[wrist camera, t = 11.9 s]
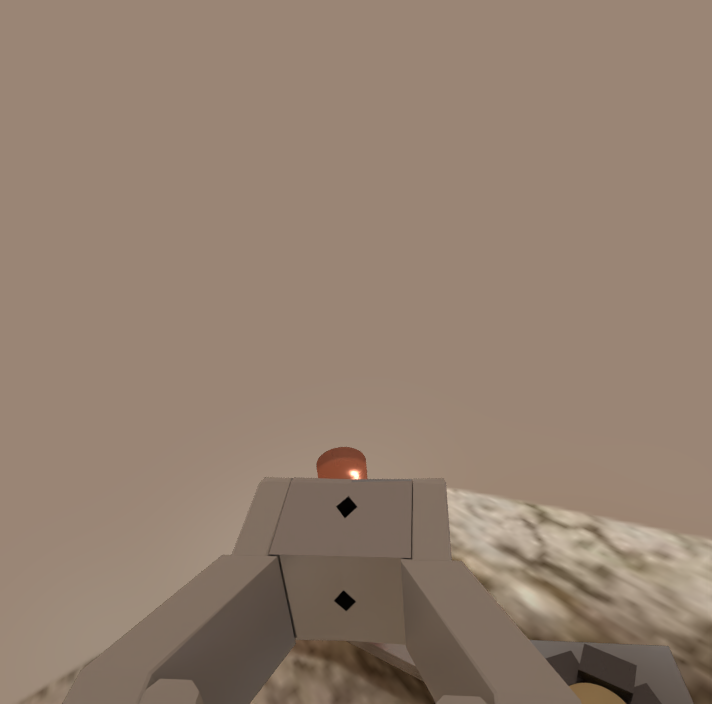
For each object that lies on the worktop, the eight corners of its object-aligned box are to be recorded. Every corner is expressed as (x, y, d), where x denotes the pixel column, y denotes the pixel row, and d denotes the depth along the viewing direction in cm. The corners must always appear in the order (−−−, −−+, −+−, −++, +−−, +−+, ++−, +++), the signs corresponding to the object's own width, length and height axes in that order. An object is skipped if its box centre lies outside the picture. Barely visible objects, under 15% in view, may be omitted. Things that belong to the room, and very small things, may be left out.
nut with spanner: (683, 722, 31) (758, 525, 23) (675, 904, 24) (774, 711, 17) (374, 582, 41) (359, 415, 34) (309, 685, 34) (272, 505, 27)
